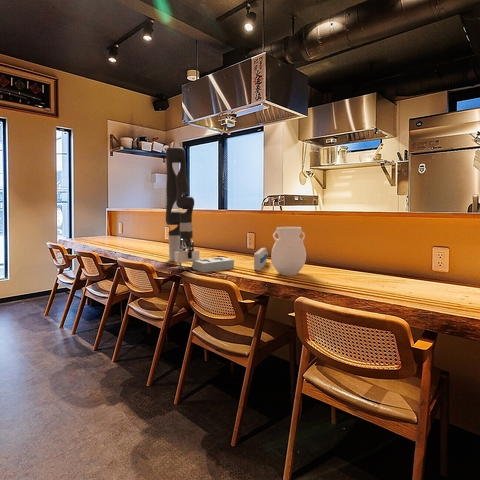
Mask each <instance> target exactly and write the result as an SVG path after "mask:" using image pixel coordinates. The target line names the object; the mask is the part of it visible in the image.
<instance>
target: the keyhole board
mask: <svg viewBox="0 0 480 480" xmlns="http://www.w3.org/2000/svg"><path fill="white" fill-rule="evenodd" d="M191 262H192V264H191V265H193V267H192V270H195V271H199V272H202V273H209V272H216V271H217V272H218V271H223V270H224V271H225V270H230V269H235V260H234V259H233V258H228V257H223V256H218V257H209V258H201V259H199V260H192V261H191Z"/></svg>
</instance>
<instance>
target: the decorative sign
mask: <svg viewBox="0 0 480 480" xmlns="http://www.w3.org/2000/svg"><path fill="white" fill-rule="evenodd" d="M268 256H269V251H267V247H261V248H259V249H258V250H257V251H256V252H254V255H253V261H254V262H253V271H254V270H256V271H257V272H259V270H260V271H261V270H262V268H263V267H264V266H265V265H266V264H267V258H268ZM256 271H255V272H256Z"/></svg>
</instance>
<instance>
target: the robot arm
mask: <svg viewBox="0 0 480 480" xmlns="http://www.w3.org/2000/svg"><path fill="white" fill-rule="evenodd" d="M165 151H166V152H165V161H166V164H165V165H166V188H165V189H166V206H165V223H166V225H168V226H176V227H175V228H173V229H171V230H169V231H168V252H169V255H168V257H169V258H168V259H169V262H175V257H174V252H176V251H186V250H188V258H189V259H190V258H192V251H194V250H195V248H194V245H195V244H194V240H191V239H193V237H194V232H193V219H192V218H193V210H194V206H195V199H194V197H192V196H189V195H188V196H187V194H188V193H189V192H190V188H189V182H188V177H187V162H186V152H185V149H184V147H180V146H178V147H177V146H176V147H175V146H174V147H173V146H170V147H167V148H166V150H165ZM173 164H180V165H179V166H180V168H179V171H178V172H177V174H176V171H175V169H174V167H173ZM184 195H186V196H184ZM175 204H176V207H177V208H178V209H186V210H185V211H184V212H182V211H181V210H172V209H173V207H174V205H175Z"/></svg>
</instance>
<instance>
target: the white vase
mask: <svg viewBox="0 0 480 480" xmlns="http://www.w3.org/2000/svg"><path fill="white" fill-rule="evenodd" d="M302 229H303V228H302V227H301V226H277V227H276V230H275V231H274V232H273V233H272V238H273V239H274V241H275V242H274V244H273V246H272V248H271V254H270V256H271V257H270V259H271V264H272V266H273V268H274V269H275V270H276V272H278V273H279V274H280V275H282V276H296V275H299V273H300V271H302V269H303V267H304V266H305V263H306V260H307V250H306V247H305V244H304V240H305V238H306V233H305V232H304V231H303V230H302ZM276 234H277V235H278V238H277V237H276ZM301 234H302V238H301V237H300V236H301Z"/></svg>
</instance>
